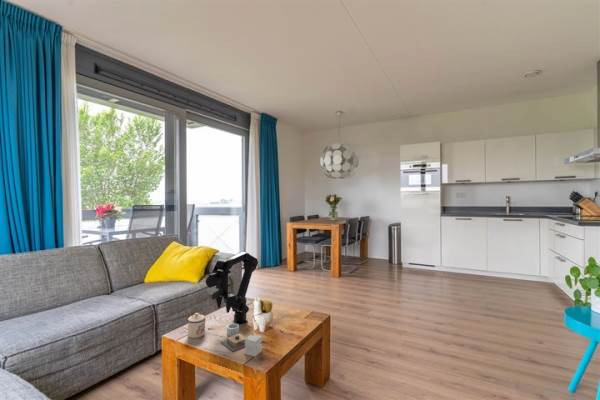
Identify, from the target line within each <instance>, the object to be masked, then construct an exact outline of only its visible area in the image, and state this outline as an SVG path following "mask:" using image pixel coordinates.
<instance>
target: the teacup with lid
mask: <svg viewBox="0 0 600 400" xmlns="http://www.w3.org/2000/svg"><path fill="white" fill-rule="evenodd" d="M187 325H188V326H187V336H188V337H189V338H190V339H197V338H198V339H199V338H201V337H203V336H205V332H206V316H205V315H203V314H200V313H198V312H195V313H194V314H193V315H191V316H189V317H188V318H187Z"/></svg>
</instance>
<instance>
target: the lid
mask: <svg viewBox="0 0 600 400" xmlns="http://www.w3.org/2000/svg"><path fill="white" fill-rule="evenodd" d="M246 338H247V337H246V336H244V335H243V334H242V335H241V333H240V332H239V334H236V335H234V336H229V337H227V338H226V340H227V342H228V343H229V344H231V345H232V346H234V347H237V346H239V345H242V344H244V343H245V339H246Z"/></svg>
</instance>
